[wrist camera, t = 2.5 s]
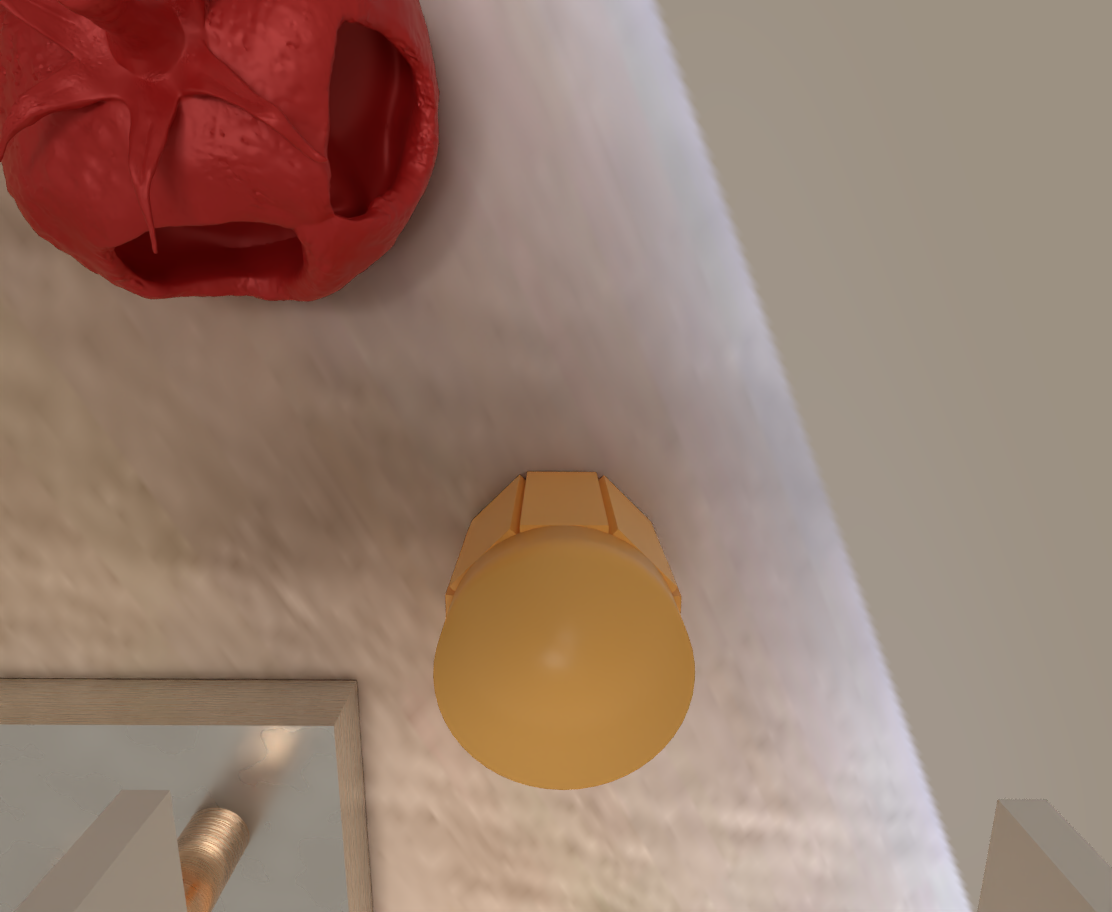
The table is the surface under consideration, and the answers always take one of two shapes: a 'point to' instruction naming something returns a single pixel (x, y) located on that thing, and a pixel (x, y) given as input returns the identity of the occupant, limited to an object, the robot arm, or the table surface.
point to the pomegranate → (218, 138)
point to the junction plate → (194, 784)
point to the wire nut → (563, 636)
